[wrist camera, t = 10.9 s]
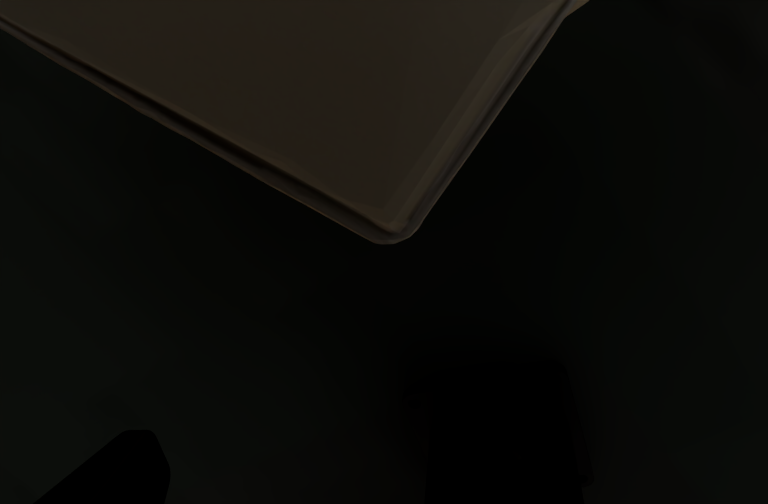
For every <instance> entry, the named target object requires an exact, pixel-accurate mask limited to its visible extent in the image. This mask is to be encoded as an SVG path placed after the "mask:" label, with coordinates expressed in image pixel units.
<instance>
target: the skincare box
mask: <svg viewBox="0 0 768 504" xmlns="http://www.w3.org/2000/svg"><path fill="white" fill-rule="evenodd" d="M576 2H577V0H0V28H1V29H2V30H4V31H6V32H8V33H10V34H11V35H13V36H14V37H16V38H18V39H19V40H21V41H22V42H24V43H25V44H27V45H29V46H30V47H32V48H33V49H35V50H37V51H38V52H40V53H42V54H43V55H45V56H47V57H48V58H50V59H51V60H53V61H55V62H56V63H58V64H60V65H61V66H63V67H65V68H67V69H69V70H70V71H72V72H74V73H76V74H78V75H79V76H81V77H83V78H85V79H87V80H88V81H90V82H92V83H93V84H95V85H97V86H98V87H100V88H102V89H103V90H105V91H107V92H108V93H110V94H111V95H113V96H115V97H116V98H118V99H120V100H122V101H123V102H125V103H127V104H128V105H130V106H131V107H133V108H134V109H136V110H137V111H139V112H141V113H142V114H144V115H146V116H149V117H151V118H153V119H154V120H156V121H158V122H159V123H161V124H163V125H164V126H166V127H168V128H169V129H171V130H173V131H175V132H177V133H179V134H181V135H183V136H185V137H187V138H189V139H190V140H192V141H194V142H196V143H197V144H199V145H201V146H202V147H204V148H206V149H208V150H209V151H211V152H213V153H215V154H216V155H218V156H220V157H221V158H223V159H225V160H226V161H228V162H230V163H231V164H233V165H235V166H237V167H239V168H240V169H242V170H244V171H245V172H247V173H249V174H250V175H252V176H254V177H255V178H257V179H259V180H261V181H262V182H264V183H266V184H268V185H270V186H272V187H273V188H275V189H277V190H279V191H281V192H283V193H284V194H286V195H288V196H290V197H292V198H294V199H295V200H297V201H299V202H301V203H303V204H305V205H306V206H308V207H310V208H312V209H314V210H315V211H317V212H319V213H321V214H322V215H324V216H326V217H328V218H330V219H331V220H333V221H335V222H337V223H339V224H340V225H342V226H344V227H346V228H347V229H349V230H351V231H353V232H355V233H357V234H358V235H360V236H362V237H364V238H366V239H368V240H370V241H372V242H374V243H377V244H395V243H397V242H400V241H402V240H404V239H407V238H409V237H411V236H412V235H413V234H414V233H415V232H416V231H417V230H418V228H419V227H420V225H421V223H422V222H423V220H424V219H425V217H426V216H427V214H428V213H429V211H430V210H431V209H432V207H433V206H434V204H435V203H436V202H437V200H438V199H439V197H440V196H441V194H442V193H443V192H444V190H445V189H446V187H447V186H448V185H449V183H450V182H451V180H452V179H453V178H454V176H455V175H456V174H457V172H458V171H459V169H460V168H461V167H462V165H463V164H464V162H465V161H466V160H467V158H468V157H469V155H470V154H471V153H472V151H473V150H474V148H475V147H476V146H477V144H478V143H479V141H480V140H481V138H482V137H483V135H484V134H485V133H486V131H487V130H488V128H489V127H490V125H491V124H492V123H493V121H494V120H495V118H496V117H497V115H498V114H499V112H500V111H501V110H502V108H503V107H504V105H505V104H506V102H507V101H508V99H509V98H510V97H511V95H512V94H513V92H514V91H515V89H516V88H517V87H518V85H519V84H520V82H521V81H522V80H523V78H524V77H525V75H526V74H527V72H528V71H529V70H530V68H531V67H532V65H533V64H534V63H535V61H536V60H537V58H538V57H539V56H540V54H541V53H542V51H543V50H544V48H545V47H546V45H547V44H548V42H549V41H550V39H551V38H552V36H553V34H554V33H555V31H556V30H557V28H558V27H559V25H560V24H561V22H562V21H563V19H564V18H565V16H566V15H567V14H568V12H569V11H570V10H571V8H572V7H573V6H574V4H575V3H576Z"/></svg>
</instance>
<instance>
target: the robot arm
mask: <svg viewBox="0 0 768 504" xmlns="http://www.w3.org/2000/svg"><path fill="white" fill-rule="evenodd" d="M551 375H558V377H556V378H550V377H549V376H551ZM412 399H416V400H419V401H418V402H414V401H412ZM402 404H403V408H404V410H405V412H406V415H407V417H408V420H409V422H410V424H411V427H412V429H413V431H414V434H415V436H416V438H417V441H418V443H419V445H420V448H421V450H422V452H423V455H424V457H425V459H426V462H427V477H426V491H425V504H584V500H583V494H582V489H581V488H582V487H586V486H589V485H591V484H592V483H593V481H594V476H593V471H592V467H591V463H590V459H589V455H588V451H587V448H586V444H585V440H584V436H583V432H582V428H581V424H580V421H579V417H578V413H577V409H576V405H575V401H574V398H573V394H572V390H571V386H570V382H569V378H568V375H567V371H566V369H565V367H564V366H563V365H561V364H558V363H547V364H541V365H536V366H530V367H525V368H519V369H514V370H508V371H502V372H497V373H491V374H486V375H480V376H475V377H469V378H464V379H458V380H452V381H447V382H441V383H436V384H430V385H425V386H419V387H414V388H410V389H407V390H406V391H405V392H404V394H403V400H402ZM579 475H582V476H579ZM169 482H170V468H169V464H168V462H167V460H166V457H165V455H164V453H163V451H162V449H161V446H160V444H159V442H158V440H157V438H156V436H155V434H154V433H153V432H151V431H150V430H128V431H124V432H122V433H121V434H119V435H118V436H117V437H115V438H114V439H113V440H112V441H110V442H109V443H108V444H107V445H105V446H104V447H103V448H102V449H101V450H99V451H98V452H97V453H96V454H94V455H93V456H92V457H91V458H89V459H88V460H87V461H86V462H84V463H83V464H82V465H81V466H79V467H78V468H77V469H76V470H74V471H73V472H72V473H71V474H69V475H68V476H67V477H66V478H64V479H63V480H62V481H61V482H59V483H58V484H57V485H56V486H54V487H53V488H52V489H51V490H50V491H48V492H47V493H46V494H45V495H43V496H42V497H41V498H40V499H38V500H37V501H36V502H35V503H33V504H164V502H165V498H166V494H167V490H168V487H169Z"/></svg>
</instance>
